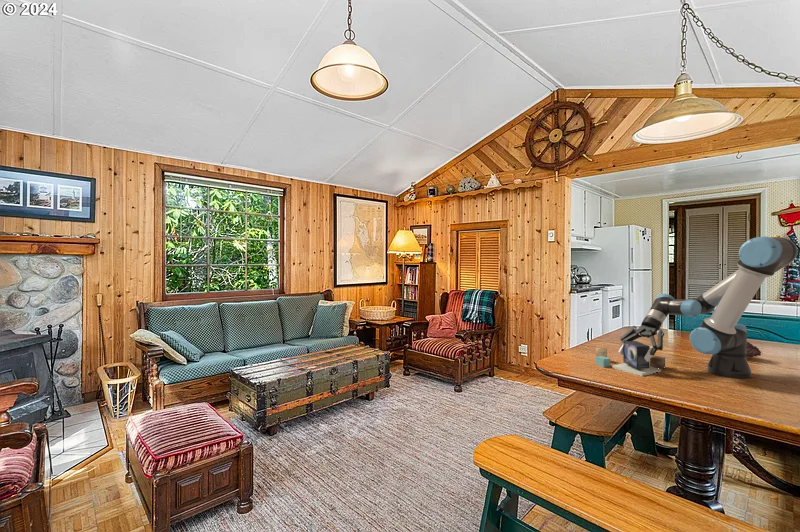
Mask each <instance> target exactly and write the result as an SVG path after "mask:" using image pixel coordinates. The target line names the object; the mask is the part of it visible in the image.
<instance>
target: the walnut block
mask: <svg viewBox="0 0 800 532" xmlns="http://www.w3.org/2000/svg"><path fill="white" fill-rule="evenodd" d="M649 365H650V367H654V368H659V369H662V370H664V369H665V368H666V356H665V357H664V356H658V355H655V354H654V355H652V356H651V358H650V360H649ZM664 367H665V368H664ZM663 368H664V369H663Z"/></svg>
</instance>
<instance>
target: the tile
mask: <svg viewBox="0 0 800 532" xmlns="http://www.w3.org/2000/svg"><path fill="white" fill-rule="evenodd" d="M611 367H612V369H615V370H618V371H621V370H622V371H621V372H626V373H629V374H632V373H633V375H635V376H639V375H640V376H639V377H644V376H649V375H654V374H657V373H656V372H658V373H661V372H662V370H661V369H658V368H654V367H650V368H645V369H637V368H634V367H632V366H630V365H628V364H626V363H624V362H622V363H619V364H614V365H612V366H611ZM653 373H654V374H653Z"/></svg>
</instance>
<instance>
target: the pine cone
mask: <svg viewBox="0 0 800 532" xmlns="http://www.w3.org/2000/svg"><path fill="white" fill-rule="evenodd" d="M758 356H759V357H760V356H762V351H761V350H760V349H759V348H758V347H757V346H755V345H753V344H752V343H751V342H749V341H747V346H746V358H755V357H758Z"/></svg>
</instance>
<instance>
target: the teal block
mask: <svg viewBox="0 0 800 532" xmlns="http://www.w3.org/2000/svg"><path fill="white" fill-rule="evenodd" d="M596 364H597V365H596ZM595 365H596V366H598V367H601V368H608V367H609V366H610V367H611V358H610V357H608V356H607V357H604V356H597V357H596V356H595Z"/></svg>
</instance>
